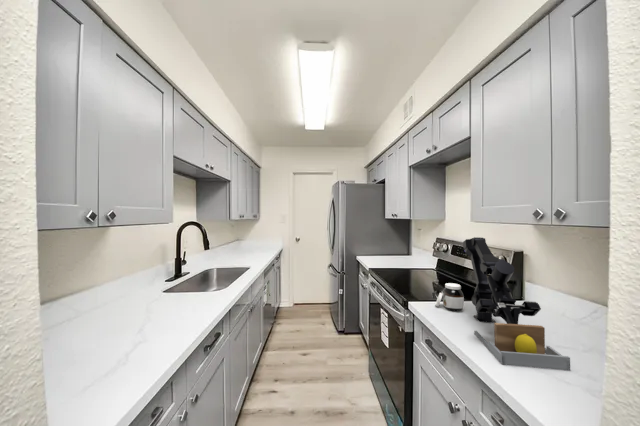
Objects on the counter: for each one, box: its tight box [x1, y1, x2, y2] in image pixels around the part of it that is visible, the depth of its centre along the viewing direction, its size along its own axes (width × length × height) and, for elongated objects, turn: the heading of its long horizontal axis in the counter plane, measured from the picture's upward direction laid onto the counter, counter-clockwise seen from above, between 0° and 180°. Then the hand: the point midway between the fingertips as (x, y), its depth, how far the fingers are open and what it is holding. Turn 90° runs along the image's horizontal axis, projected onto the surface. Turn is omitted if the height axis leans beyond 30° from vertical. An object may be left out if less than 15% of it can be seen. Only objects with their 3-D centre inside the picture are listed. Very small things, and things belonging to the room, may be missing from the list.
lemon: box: [515, 334, 537, 354], centre depth 83 cm, size 6×6×8 cm
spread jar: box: [435, 282, 465, 312], centre depth 129 cm, size 12×11×12 cm
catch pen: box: [473, 330, 571, 371], centre depth 89 cm, size 21×18×4 cm
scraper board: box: [493, 322, 546, 354], centre depth 87 cm, size 2×14×9 cm, turn 80°
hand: (515, 331), depth 88 cm, fingers closed, pressing on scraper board
